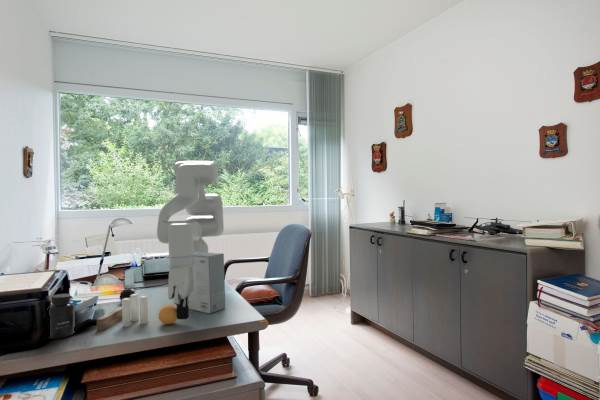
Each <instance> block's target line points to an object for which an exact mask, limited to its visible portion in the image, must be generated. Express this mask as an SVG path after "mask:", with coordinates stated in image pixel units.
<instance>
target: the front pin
mask: <svg viewBox="0 0 600 400" xmlns="http://www.w3.org/2000/svg"><path fill="white" fill-rule="evenodd" d="M138 303H139V324H140V325H146V324H148V323H149V307H148V295H141V296H138Z"/></svg>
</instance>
